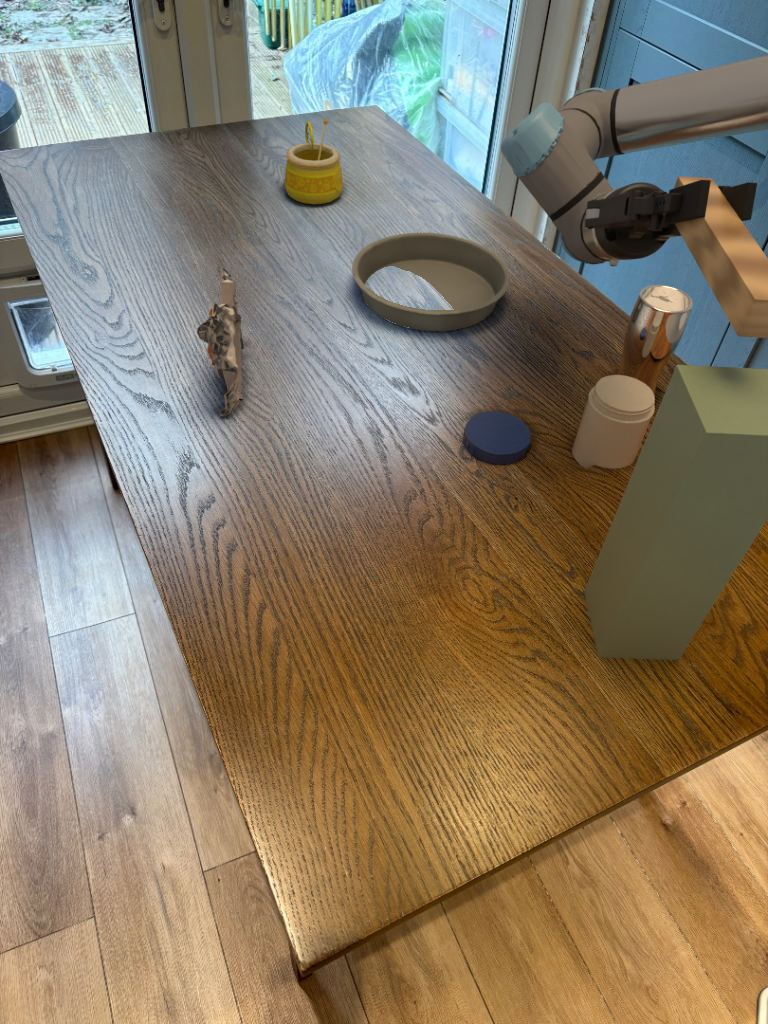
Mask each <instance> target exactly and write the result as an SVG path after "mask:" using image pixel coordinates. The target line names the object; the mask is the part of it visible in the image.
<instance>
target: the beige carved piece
mask: <svg viewBox="0 0 768 1024" xmlns="http://www.w3.org/2000/svg"><path fill="white" fill-rule="evenodd" d="M216 267H217V268H216V269H217V272H218V274H219V276H220V277H221V278H222V279H223V280H222V281H220V304H217V303H216V302H214V303H213V305H212V307H211V308H210V310H209V314H208V318H207V319H206V320H205V321H204V322H202V323H201V324H200V325H199V326H198V327H197V329H196V330H197V331H196V334H197V335H198V338H199V340H201V341H203V342H204V343H206V344H208V345H207V348H206V351H207V354H208V357H209V359H210V360H211V366H213V367H214V366H215V370H216V374H217V377H218V379H221V378H222V377H223V379H224V381H225V385H226V390H227V391H226V393H225V394H223V398H224V406H225V407H224V408H223V409H221V411H220V413H219V418H221V419H223V418H225V417H226V416H228V415H231V413H232V411H234V410H235V409H236V408H237V407H238V406H239V405H240V404H241V400H239V399H243V400H244V396H243V397H242V394H241V392H242V393H243V385H242V383H243V372H242V366H243V363H242V354H243V353H242V351H243V350H244V339H243V332H242V326H241V325H242V322H243V321H242V316H241V315H240V314H239V313H238V309H239V307H238V304H239V301H238V299H237V298H236V296H237V294H236V293H237V290H236V287H237V284H236V283H237V282H235V281H234V279H233V278H232V274H231V273H230V272H228V271H227V270H226V269H225V268H224V267H219V266H216ZM227 273H228V274H229V275H228V274H227ZM238 400H239V401H238ZM228 413H229V414H228Z"/></svg>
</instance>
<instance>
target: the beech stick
mask: <svg viewBox="0 0 768 1024" xmlns="http://www.w3.org/2000/svg"><path fill="white" fill-rule="evenodd" d="M699 180H711V183H710V189H709V195H708V202H707V208H706V214H705V217H703V218H698V219H693V220H688V221H683V222H679V223H675V225H676V227H677V229H678V231H679V232H680V234H681V236H680V237H681V238H682V239H683V241H684V243H685V245H686V247H687V248H688V250H689V252H690V254H691V256H692V257H693V259H694V261H695V263H696V265H697V266H698V268H699V270H700V271H701V273H702V275H703V277H704V279H705V281H706V283H707V284H708V286H709V288H710V290H711V291H712V293H713V295H714V296H715V298H716V300H717V302H718V304H719V305H720V307H721V309H722V311H723V313H724V315H725V316H726V318H727V320H728V321H729V324H730V325H731V327H732V329H733V331H734V332H735V334H736V336H737V337H739V338H759V339H768V257H767V255H766V254H765V251H763V250H762V248H761V246H760V245H759V243H758V242H757V240H756V239H755V238H754V236H753V235H752V233H751V232H750V231H749V229H748V228H747V227H746V225H745V224H744V221H741V219H740V218H739V217H738V215H737V214H736V212H735V211H734V209H733V208H732V206H731V205H730V204H729V202H728V201H727V199H726V198H725V196H724V195H723V194H722V192H721V191H720V189H719V188H718V186H719V185H717V183H716V182H715V181H714V179H713V178H712V177H697V176H695V177H694V176H683V175H682V176H680V175H679V176H677V179H676V180H675V181H676V182H675V184H674V187H673V189H674V188H677V187H680V186H683V185H686V184H689V183H693V182H696V181H699Z"/></svg>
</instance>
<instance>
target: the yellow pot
mask: <svg viewBox="0 0 768 1024" xmlns="http://www.w3.org/2000/svg"><path fill="white" fill-rule="evenodd" d="M328 123H329V120H328V118H324V119H323V130H322V135H321V141H320V143H319V142H315V138H314V132H313V127H312V123H311V122H310V121H306V122H305V125H304V126H305V128H304V135H305V136H304V137H305V143H304V142H303V143H299V144H297V145H294V146H292V147H290V149H288V150H287V151H286V155H285V156H286V163H285V174H284V188H285V191H286V193H287V194H288V196H289V197H290V198H292V199H293V200H295V201H296V202H297V203H298V202H299V203H303V204H307V205H321V204H323V205H324V204H327V203H331V202H333V201H335V200H336V199H338V198H339V197H340V195H341V193H342V191H343V186H344V183H343V181H344V179H343V172H342V171H343V170H342V166H341V162H340V160H341V155H340V153H339V151H337V149H336V148H334V147H332V146H330V145H327V144H323V143H324V137H325V134H326V133H325V132H326V128H327V124H328Z"/></svg>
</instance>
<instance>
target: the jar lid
mask: <svg viewBox="0 0 768 1024" xmlns="http://www.w3.org/2000/svg"><path fill="white" fill-rule="evenodd" d="M531 436H532V435H531V431H530V428H529V427H528V426H527V424H526V423H525V422H524V421H523V420H521V419H520V418H518V417H517V416H515V415H512V414H510V413H506V412H503V411H495V410H491V411H490V410H489V411H483V412H480V413H476V414H475V415H473V416H471V418H469V419H468V421H467V422H466V424H465V427H464V432H463V436H462V440H463V446H464V447H465V448H466V450H467V452H468V453H470V454H471V455H472V457H475V458H476V459H478V460H480V461H482V462H484V463H488V464H493V465H511V464H514V463H516V462H519V461H520V460H521V459H523V458H524V457H526V455H527V453H528V452H529V449H530V445H531V439H532V437H531Z"/></svg>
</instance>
